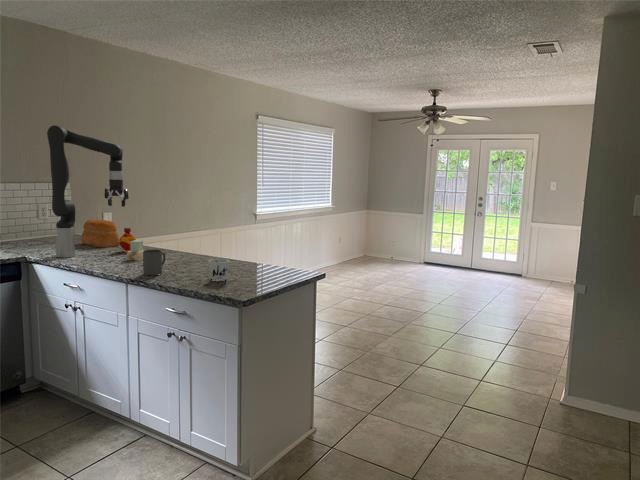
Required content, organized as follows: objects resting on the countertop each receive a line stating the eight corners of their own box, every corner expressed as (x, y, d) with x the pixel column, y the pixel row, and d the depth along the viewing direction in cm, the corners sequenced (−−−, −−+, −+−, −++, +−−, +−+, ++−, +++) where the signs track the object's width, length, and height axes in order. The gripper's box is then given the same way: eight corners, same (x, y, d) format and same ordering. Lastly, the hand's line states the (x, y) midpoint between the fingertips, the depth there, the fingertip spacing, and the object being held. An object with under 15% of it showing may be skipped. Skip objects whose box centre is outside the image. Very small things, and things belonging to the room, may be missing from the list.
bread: (101, 248, 320) (100, 222, 317) (78, 244, 334) (77, 218, 332) (122, 245, 333) (122, 220, 330) (100, 241, 347) (99, 217, 345)
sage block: (130, 251, 286) (130, 241, 286) (135, 250, 291) (135, 240, 290) (138, 252, 286) (138, 241, 285) (143, 250, 290) (142, 240, 290)
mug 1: (153, 276, 246) (152, 253, 244) (139, 274, 250) (138, 251, 248) (172, 272, 258) (171, 249, 256) (158, 270, 262) (158, 247, 260)
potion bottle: (115, 252, 309) (114, 228, 307) (127, 249, 318) (127, 226, 316) (128, 253, 305) (128, 229, 303) (140, 251, 314) (139, 227, 312)
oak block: (127, 260, 286) (126, 251, 286) (135, 257, 294) (135, 249, 293) (138, 261, 284) (138, 252, 283) (147, 258, 292) (147, 250, 291)
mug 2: (210, 283, 236) (210, 263, 235) (204, 276, 250) (204, 257, 248) (231, 282, 240) (231, 261, 239) (225, 275, 254) (225, 256, 252)
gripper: (101, 178, 287) (102, 206, 290) (123, 179, 285) (123, 207, 287) (109, 178, 295) (109, 205, 297) (130, 179, 292) (131, 206, 294)
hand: (116, 206), depth 292 cm, fingers open, 8 cm apart
